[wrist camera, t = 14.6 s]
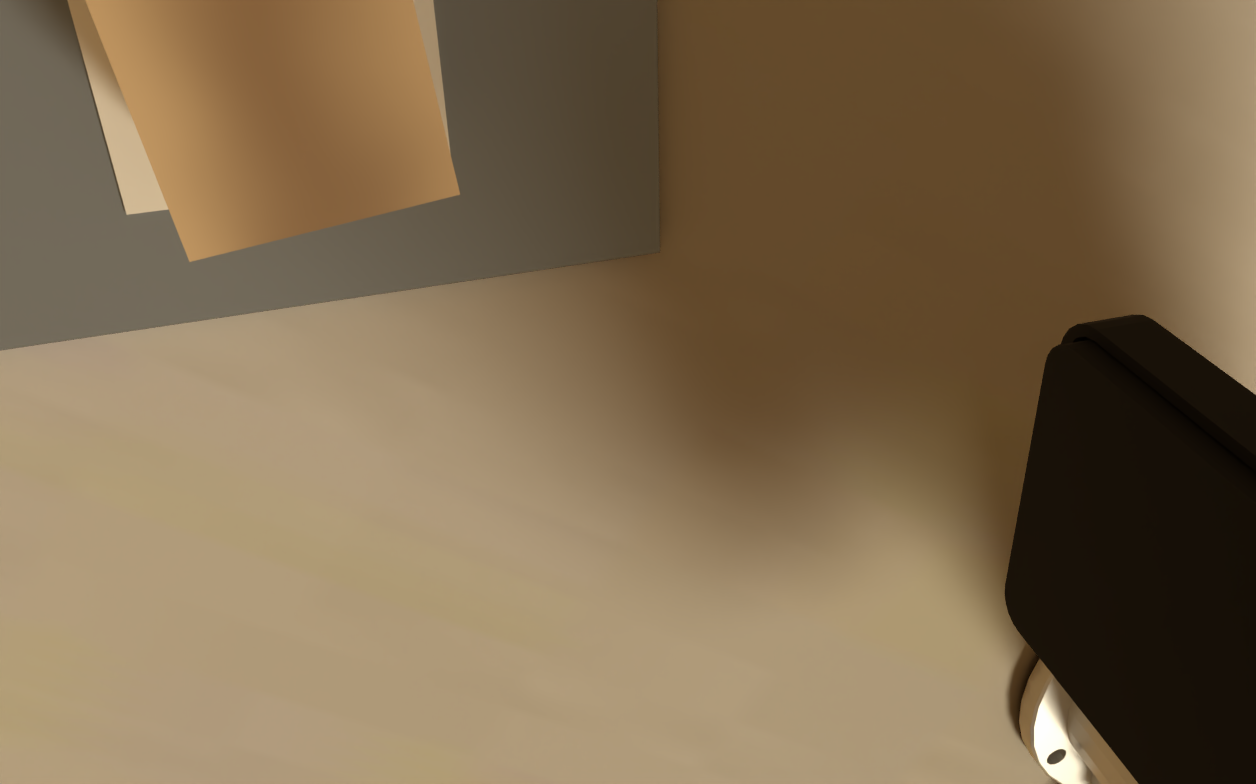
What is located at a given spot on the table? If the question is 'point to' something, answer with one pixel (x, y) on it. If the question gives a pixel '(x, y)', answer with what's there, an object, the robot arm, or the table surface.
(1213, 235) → the table surface
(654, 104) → the mat
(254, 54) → the tan rectangular block
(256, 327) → the table surface
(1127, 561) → the robot arm
